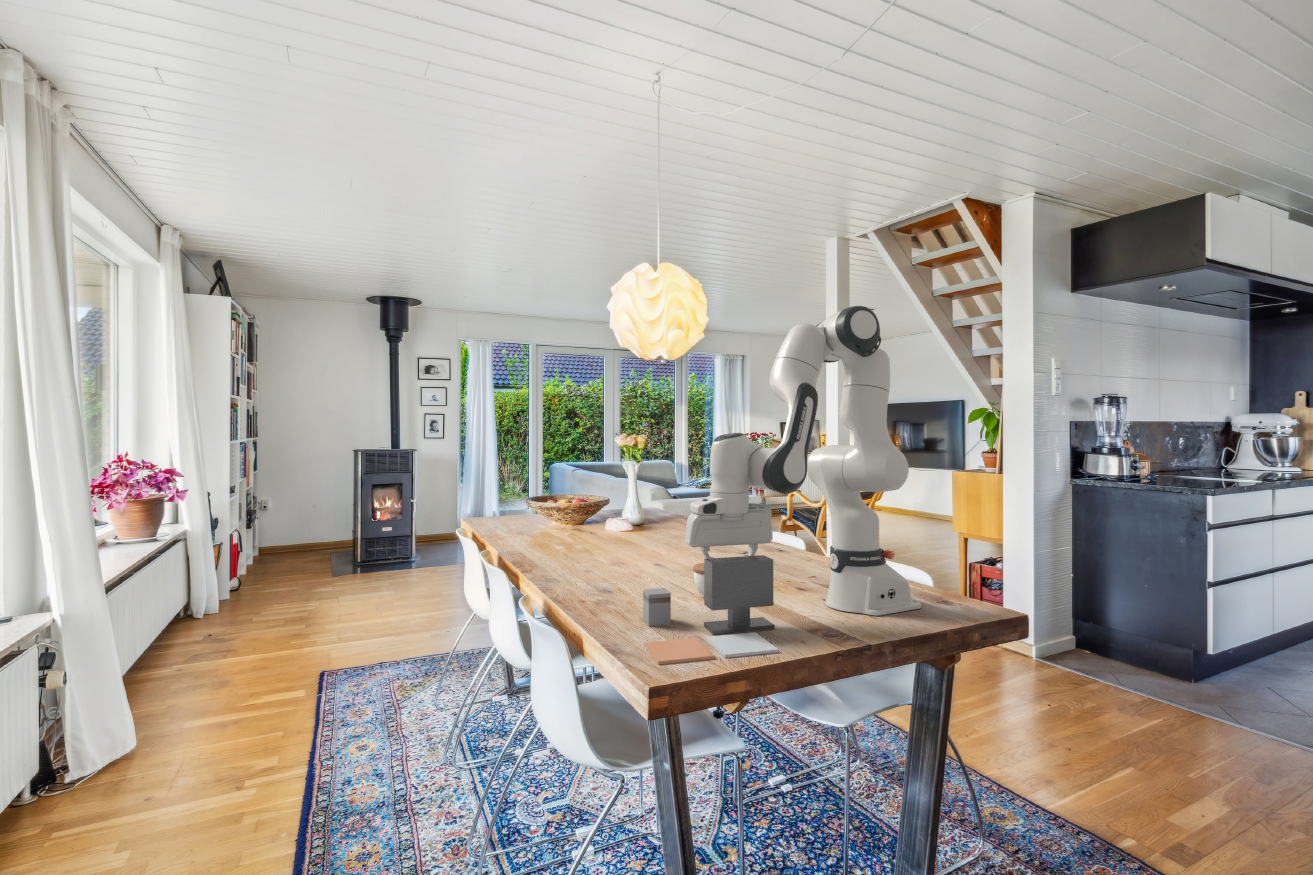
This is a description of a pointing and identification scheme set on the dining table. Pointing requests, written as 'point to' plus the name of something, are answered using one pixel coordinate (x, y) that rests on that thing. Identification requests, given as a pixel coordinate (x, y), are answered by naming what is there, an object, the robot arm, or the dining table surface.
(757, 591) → the mounted unit
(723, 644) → the pale pad
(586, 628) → the dining table surface
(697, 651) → the terracotta pad
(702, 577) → the lidded jar
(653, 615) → the cartridge
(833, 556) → the robot arm
